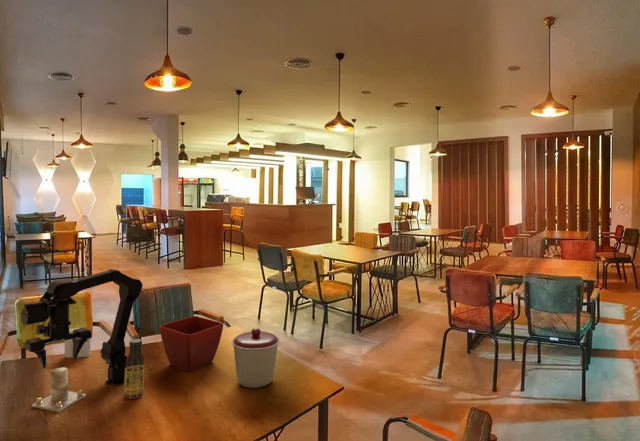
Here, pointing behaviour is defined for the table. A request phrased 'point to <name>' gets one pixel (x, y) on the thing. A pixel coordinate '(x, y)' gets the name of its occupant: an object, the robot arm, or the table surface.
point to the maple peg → (59, 384)
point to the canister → (255, 357)
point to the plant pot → (191, 341)
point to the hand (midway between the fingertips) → (59, 363)
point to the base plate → (64, 403)
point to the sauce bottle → (134, 371)
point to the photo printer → (83, 351)
